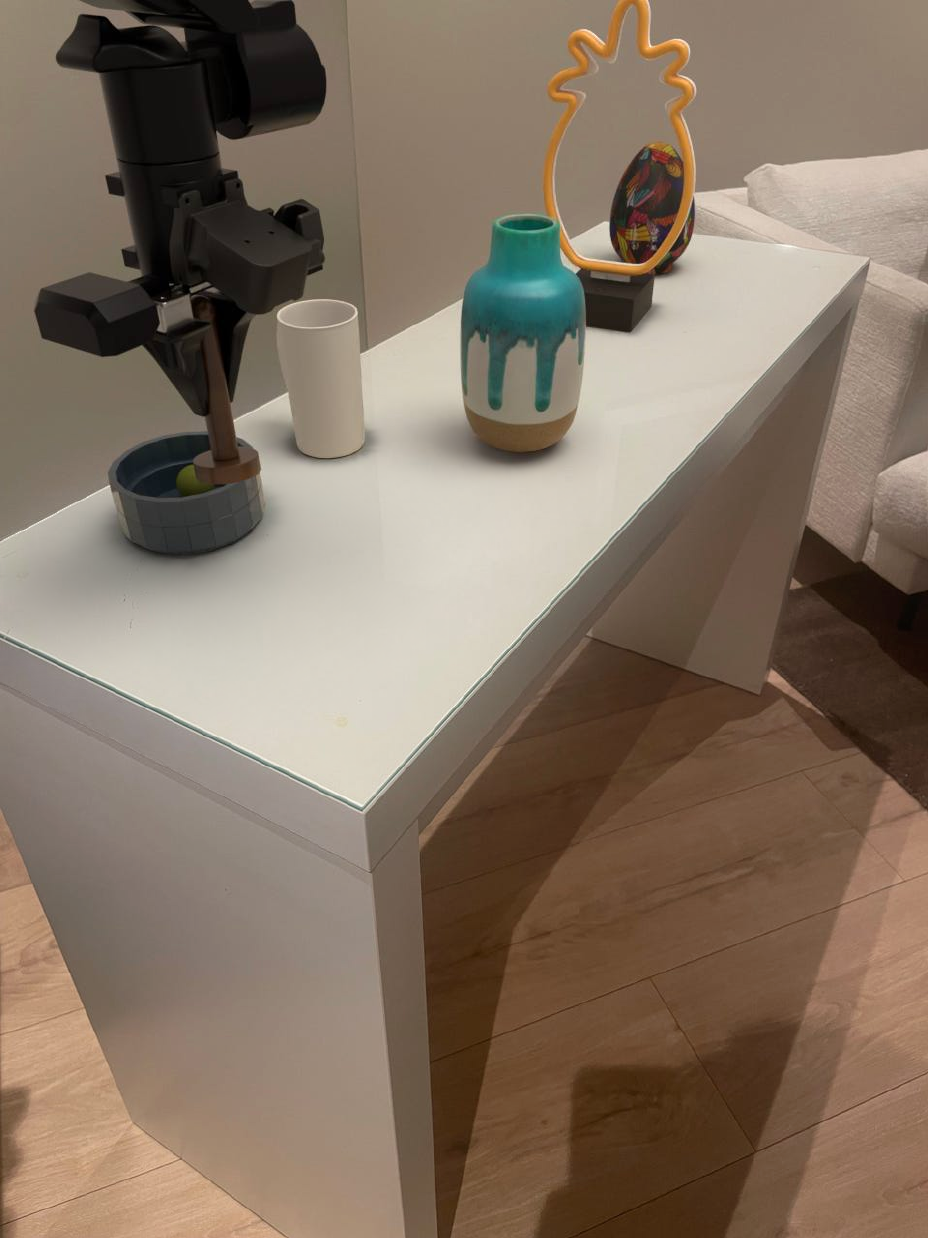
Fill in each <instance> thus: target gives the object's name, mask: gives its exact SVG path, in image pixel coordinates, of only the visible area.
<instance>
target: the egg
mask: <svg viewBox="0 0 928 1238" xmlns="http://www.w3.org/2000/svg"><path fill="white" fill-rule="evenodd" d="M683 187H684V167H683V159H682V158H681V155H679V153H678V151H677V150H676V149H675V147H673V146H672V145H670V144H669V143H667V142H663V141H654V142H651V143H648V144H645V146H643V147H642V148H641V149H640V150H639V151H638V152H637V153H636V155H635V156H634V157H633V158H632V159H631V161H630V163H629V164H628V165H627V167H626V168H625V170H624V172H623V173H622V176H621V177H620V180H619V182H618V184H617V187H616V189H615V192H614V196H613V199H612V203H611V208H610V212H609V213H610V214H609V223H608V224H609V225H608V228H609V229H608V230H609V231H608V232H609V239H610V243H611V246H612V248H613V250H614V252H615V254H616V255H617V256H618V258H619V259H620V260H621V261H622V263H630V264H642V263H645V262H647V261H648V260H649V259H651V258H652V257H653V255H654V254H655V253H656V252H657V251H658V249H659V248H660V247H661V245H662V244H663V242H664V241H665V239H666V238H667V236H668V234H669V232H670V231H671V229H672V227H673V225H674V222H675V220H676V218H677V215H678V212H679V208H680V205H681V201H682V195H683ZM695 201H696V200H695V195H694V196H693V201H692V205H691V208H690V212H689V215H688V218H687V220H686V222H685V225H684V227H683V229H682V231H681V232H680V234H679V236H678V238H677V239H676V241H675V243H674V244H673V245H672V247H671V248H670V250H669V251H668V252H667V254H666V255H665V256H664V257H663V259H662V260H661V261H660V262H659V263H658V264H657V265H656V266H655V267H653V268H652V269H651V270H649V271H648V272H646V273H644V274H652V275H658V276H659V275H662V274H665V273H669V271H671V270H672V269H673V265H674V263H675V262H676V261H677V260H679V258H681V256H682V255H683V253H685V251H686V250H687V248H688V247H689V245H690V243H691V241H692V237H693V233H694V228H695V222H696V221H695V220H696V203H695Z"/></svg>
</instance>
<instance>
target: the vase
mask: <svg viewBox="0 0 928 1238" xmlns="http://www.w3.org/2000/svg"><path fill="white" fill-rule="evenodd" d="M490 238H491V241H490V250H489V257H488V261H487V263H486V264H485V265H483V266H481V267H480V268H478V269H476V270H475V271H474V272H473V273H472V274H471V276H470V277H469V278H468V280H467V282H466V284H465V288H464V292H463V298H462V305H461V316H460V335H459V336H460V338H459V339H460V341H459V342H460V345H459V346H460V347H459V349H460V351H459V352H460V353H459V355H460V356H459V357H460V360H459V361H460V380H461V382H460V383H461V392H462V401H463V408H464V412H465V417H466V420H467V422H468V424H469V426H470V428H471V429H472V432H474V434H475V435H476V436H477V437H478V438H479V439H480V440H481V441H482V442H484V443H485V444H487V445H489V446H491V447H493V448H495V449H498V450H502V451H507V452H516V453H518V452H519V453H524V452H525V453H527V452H528V453H529V452H536V451H540V450H543V449H546V448H549V447H550V446H552V445H555V444H556V443H558V442H559V441H560V440H561V439H562V438H564V436H566V434H567V433H568V431H569V430H570V428H571V427H572V425H573V423H574V422H575V419H576V415H577V411H578V407H579V403H580V397H581V390H582V384H583V376H584V365H585V354H586V353H585V351H586V334H587V333H586V330H587V329H586V328H587V326H586V309H585V297H584V290H583V286H582V284H581V281H580V279H579V278H578V276H577V275H576V272H574V271H573V270H571V269H570V268H569V267H566V266H565V265H564V264H563V262H562V257H561V248H560V224H559V222H558V221H557V220H556V219H554V218H552V217H549V216H547V215H545V214H539V213H513V214H512V213H511V214H506V215H503V216H500V217H498V218H496V219H495V220H494V221H493V222H492V227H491V237H490Z"/></svg>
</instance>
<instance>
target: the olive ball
mask: <svg viewBox="0 0 928 1238" xmlns="http://www.w3.org/2000/svg"><path fill="white" fill-rule="evenodd" d="M176 485H177V489H178V491H179V493H180V494H181V496H182V497H187V496H192V495H198V494H203V493H206V492H209V491H212V490H214V487H215V484H206V483H202V482H200V481H198V480H197V478H196V474H195V469H194V465H189V466H187V467H185V468H183V469H182V470H181V471H180V472H179V474H178V476H177V480H176Z"/></svg>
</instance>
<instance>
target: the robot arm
mask: <svg viewBox="0 0 928 1238" xmlns="http://www.w3.org/2000/svg"><path fill="white" fill-rule="evenodd" d="M79 1H80V2H82V3H84V4H86V5H89V6H92V7H95V8H98V9H102V10H110V11H111V10H112V11H122V12H125V13H126V14H128V15H129V16H131V17H132V18H133V19H135V20H136V21H138V22H139V24H143V25H139V26H131V27H129V26H128V27H121V28H117V27H116V26H115V24H113V23H112V22H111V20H110V19H109V17H107V16H105V15H98V14H88V13H80V14H78V16H77V19H76V22H75V26H74V28H73V31H72V32H71V33H70V34H69V36H68V37H67V38H66V39H65V40H64V41H63V43H62V45H61V46H60V47H59V49H58V51H57V52H56V54H55V61H56V64H57V65H58V66H59V67H61V68H63V69H69V70H75V71H82V72H87V73H88V72H89V73H96V74H98V78H99V82H100V86H101V91H102V97H103V101H104V106H105V111H106V115H107V120H108V126H109V130H110V134H111V139H112V145H113V149H114V154H115V159H116V164H117V168H118V171H116V172H111V173H109V174H105V175H104V176H105V177H104V178H105V182H106V186H107V191H108V194H109V195H113V196H118V197H122V198H124V203H125V206H126V207H125V208H126V212H127V216H128V221H129V226H130V230H131V231H130V232H131V236H132V240H133V245H129V246H127V247H123V248H121V249H120V251H121V257H122V260H123V264H124V267H126V268H129V269H130V268H131V269H135V270H139V272H140V276H139V277H136V278H133V279H130V280H127V281H125V280H122V279H118V278H114V277H110V276H106V275H102V274H98V273H94V272H91V271H89V272H88V271H87V272H85V273H83V274H79V275H76V276H73V277H71V278H68V279H65V280H62V281H59V282H56V283H53V284H50V285H47V286H44V287H41V288H40V290H39V291H38V294H37V296H36V298H35V301H34V308H33V312H34V316H35V319H36V322H37V326H38V329H39V334H40V338H41V339H42V340H46V341H49V342H52V343H55V344H59V345H62V346H65V347H68V348H72V349H75V350H77V351H80V352H81V351H82V352H85V353H88V354H91V355H94V356H97V357H101V358H107V357H117V356H120V355H122V354H125V353H127V352H130V351H132V350H134V349H137V348H139V347H143V348H144V349H145V350H146V352H147V353H148V354H149V355H150V356H151V357H152V358H153V360H154V361H155V363H156V364H157V365H158V366H159V367H160V369H161V371H162V372H163V373H164V374H165V376H166V377H167V378H168V380H169V381H170V383H171V384H172V385H173V387H174V388H175V390H176V391H177V392H178V394H179V395H180V396H181V398H182V399H183V400H184V402H185V404H186V405H187V406H188V407H189V409H190V410H191V412H192V413H193V414H194V415H197V416H200V417H202V418H205V416H207V415H208V414H209V402H208V391H207V384H206V378H205V372H204V365H203V359H202V353H201V346H200V343H201V341H202V339H203V337H204V336H205V334H206V332H207V331H208V329H209V328H210V326H211V323H210V322H206V321H202V320H198V319H195V318H194V316H193V311H192V305H191V300H190V298H191V296H194V295H203V296H206V297H207V298H209V299H210V300H211V301H212V302H213V304H214V306H215V309H216V317H215V318H216V324H217V329H218V335H219V341H220V347H221V352H222V358H223V364H224V370H225V375H226V381H227V387H228V393H229V398H230V404H232V403H233V402H234V399H235V395H236V394H235V393H236V389H237V383H238V378H239V372H240V367H241V363H242V358H243V352H244V347H245V342H246V338H247V336H248V332H249V328H250V325H251V323H252V321H253V319H254V318H255V317H256V316H260V315H266V314H268V313H271V312H272V311H273V310H274V309H275V308H276V307H278V306H280V305H282V304H285V303H288V302H289V301H294V302H296V301H298V300H300V299H301V298H303V297H304V294H305V288H306V283H307V277H308V276H310V275H313V274H315V273H318V272H320V271H322V270H324V265H323V264H324V263H325V260H326V257H325V254H324V251H323V250H324V244H325V235H324V230H323V224H322V219H321V213H320V209H319V208H318V207H317V206H315V205H313V204H312V203H311V202H309V201H307V200H306V199H304V198H300V199H297V200H294V201H291V202H288V203H285V204H282V205H281V206H280V207H279V208H278V210H277V211H276V212H275V210H274V209H273V208H271V207H265V208H264V209H260V210H259V209H256V208H254V207H252V206H251V205H249V204H248V201H247V197H246V196H245V189H244V184H243V180H242V179H240V178H239V172H238V171H239V170H235V169H230V168H224V167H222V160H221V152H220V147H219V141H218V139H219V138H218V134H219V135H220V136H222V137H224V138H226V139H228V140H232V141H236V140H242V139H247V138H251V137H255V136H259V135H264V134H269V133H274V132H278V131H279V132H280V131H284V130H287V129H293V128H299V127H303V126H307V125H310V124H311V123H312V122H314V121H316V119H317V118H318V117H319V116H320V115H321V113H322V111H323V108H324V105H325V103H326V102H325V101H326V97H327V96H326V95H327V72H326V67H325V65H324V64H322V61H321V57H320V54H319V52H318V49H317V47H316V45H315V42H314V41H313V40H312V38H311V37H310V36H309V34H308V32H307V31H306V30H305V29H304V28H303V27H301V26H300V25H299V24H298V23H297V14H296V5H295V2H294V1H293V0H253V1H251V2H250V1H249V0H79ZM163 27H167V28H168V27H169V28H177V29H178V28H179V29H183V32H184V41H179V40H178V39H177V38H176V37H175V36H174V35H173V34H172V33H171V32H169V30H167V29H165V28H163ZM217 133H218V134H217Z"/></svg>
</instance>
